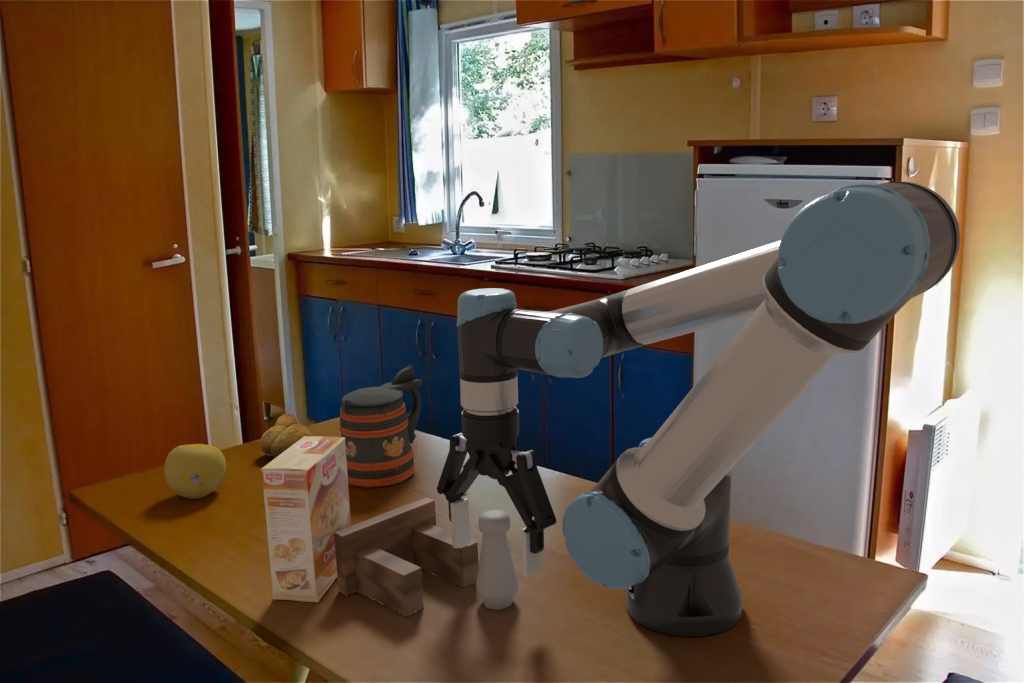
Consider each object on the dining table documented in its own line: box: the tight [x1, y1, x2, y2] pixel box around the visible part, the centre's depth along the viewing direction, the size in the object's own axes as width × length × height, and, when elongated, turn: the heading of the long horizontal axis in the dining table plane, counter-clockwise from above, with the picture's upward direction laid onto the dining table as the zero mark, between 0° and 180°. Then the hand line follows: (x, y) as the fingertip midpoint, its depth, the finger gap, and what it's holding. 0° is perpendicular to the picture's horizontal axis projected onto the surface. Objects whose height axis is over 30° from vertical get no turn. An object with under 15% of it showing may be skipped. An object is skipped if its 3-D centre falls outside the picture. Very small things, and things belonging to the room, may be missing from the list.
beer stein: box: [339, 365, 423, 489], centre depth 172 cm, size 19×15×20 cm
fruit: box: [163, 443, 227, 500], centre depth 164 cm, size 10×11×10 cm
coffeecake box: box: [260, 435, 352, 603], centre depth 129 cm, size 15×7×20 cm, turn 170°
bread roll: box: [259, 413, 313, 459], centre depth 185 cm, size 13×10×8 cm
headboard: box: [334, 496, 479, 617], centre depth 126 cm, size 13×17×9 cm
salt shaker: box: [475, 509, 519, 611], centre depth 120 cm, size 6×6×13 cm
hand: (495, 558), depth 120 cm, fingers open, 13 cm apart
